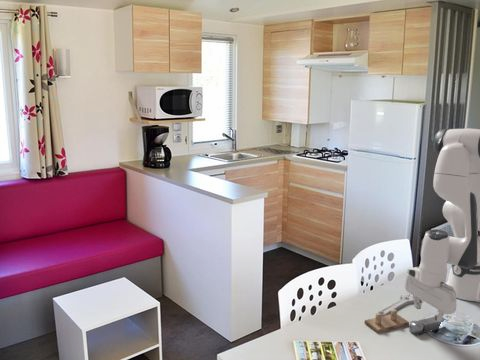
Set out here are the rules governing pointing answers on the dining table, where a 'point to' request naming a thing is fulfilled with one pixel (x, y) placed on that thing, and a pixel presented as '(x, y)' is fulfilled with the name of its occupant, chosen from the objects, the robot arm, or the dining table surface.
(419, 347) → the dining table surface
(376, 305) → the dining table surface
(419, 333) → the gray flashlight
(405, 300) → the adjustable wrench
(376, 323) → the peg rack
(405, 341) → the dining table surface
